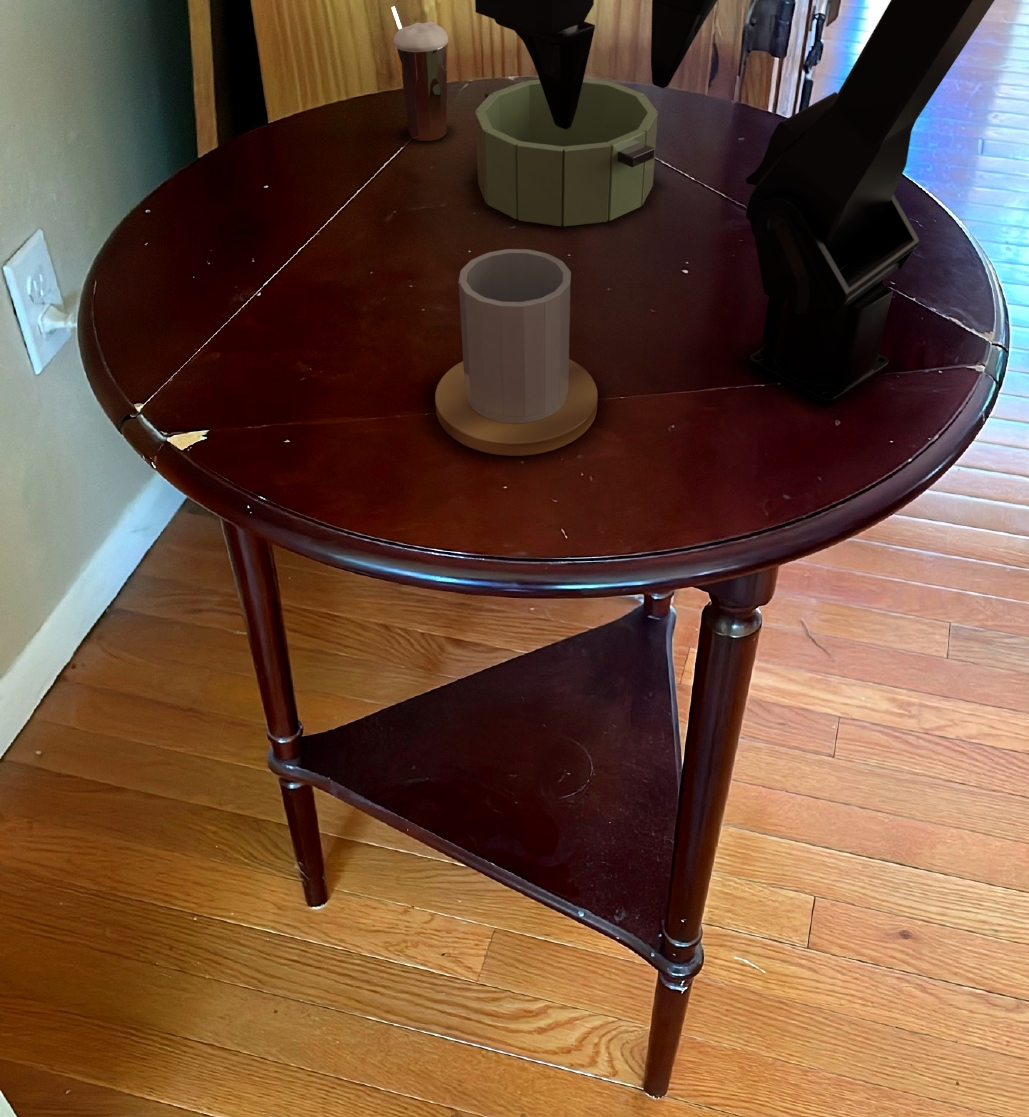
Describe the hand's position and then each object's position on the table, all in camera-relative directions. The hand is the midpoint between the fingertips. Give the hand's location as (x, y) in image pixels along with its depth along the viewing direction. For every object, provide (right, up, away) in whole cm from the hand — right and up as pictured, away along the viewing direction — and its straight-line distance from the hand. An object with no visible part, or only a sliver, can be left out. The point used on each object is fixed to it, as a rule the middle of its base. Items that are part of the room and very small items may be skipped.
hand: (612, 105), depth 73 cm
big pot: (-2, +1, +19) cm, 19 cm away
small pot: (-6, -19, -4) cm, 20 cm away
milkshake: (-14, +8, +27) cm, 31 cm away
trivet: (-6, -20, -3) cm, 21 cm away
